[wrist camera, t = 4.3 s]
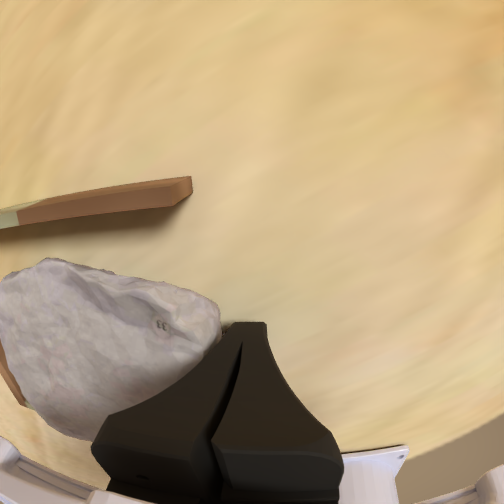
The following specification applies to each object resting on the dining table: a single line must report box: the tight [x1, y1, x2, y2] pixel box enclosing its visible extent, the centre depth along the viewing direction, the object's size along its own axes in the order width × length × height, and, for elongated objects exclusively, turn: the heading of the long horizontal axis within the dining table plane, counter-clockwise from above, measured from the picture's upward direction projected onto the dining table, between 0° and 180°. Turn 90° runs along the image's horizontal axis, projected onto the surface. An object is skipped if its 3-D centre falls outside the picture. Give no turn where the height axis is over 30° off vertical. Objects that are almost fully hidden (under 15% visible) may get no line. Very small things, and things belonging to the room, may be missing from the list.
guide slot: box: [0, 176, 193, 411], centre depth 13 cm, size 13×15×2 cm
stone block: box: [0, 258, 222, 442], centre depth 13 cm, size 12×5×10 cm
